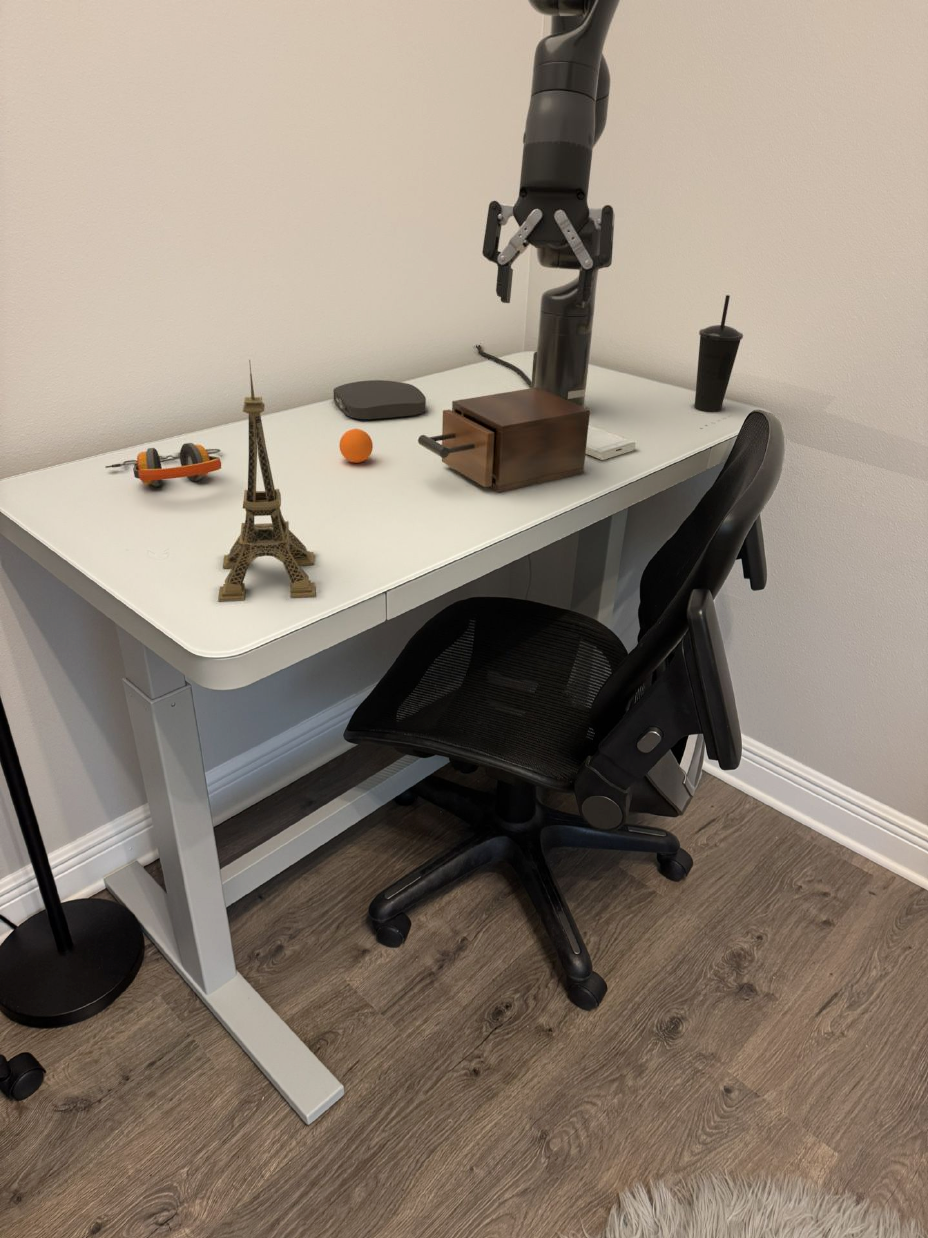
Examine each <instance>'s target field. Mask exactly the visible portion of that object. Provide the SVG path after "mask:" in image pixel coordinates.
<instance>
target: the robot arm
mask: <svg viewBox="0 0 928 1238" xmlns="http://www.w3.org/2000/svg"><path fill="white" fill-rule="evenodd" d="M527 1H528V3H529V5H530V6H531V8H532V9H533V10H534V11H536V12H537V13H538V14H541V15H544V16H550V35H547V36H545V37H543V38H542V39H540V40H539V42H538V43H537V44H536V45H537V46H536V48H535V51H534V57H533V66H532V78H531V90H530V98H529V105H528V109H527V115H526V119H525V127H524V128H525V129H524V132H523V137H522V143H523V146H522V147H523V148H522V149H523V150H522V157H521V158H522V159H521V167H520V168H521V170H520V179H519V188H518V189H519V190H518V197H517V200H516V202H515V203H514V204H505V203H500V202H499V201H498V200H492V201H490V202H489V204H488V210H487V217H486V223H485V231H484V238H483V245H482V252H481V254H482V256H483V257H484V258H486V259H487V260H488V261H489V262H491V263H494V264H495V265H496V266H497V276H496V285H495V286H496V287H495V292H496V296H497V297H498V298H500V302H501V303H503V304H510V302H511V298H512V297H511V295H512V285H513V277H514V276H513V274H514V268H512V265H513V264H514V263H515V262H516V260H517V259H518V258H519V257H520V256H521V255H522V254H523V253H525V251H527V249H528V248H529V246H532V247H534V248H535V250H536V258H537V261H538V264H539V265H540V266H541V267H544V268H547V269H559V270H571V271H572V270H573V271H576V270H577V271H579V273H578V276H576V278H574V279H573V280H571V281H570V282H568V283H565V284H563V285H560V286H556V287H553V288H550V289H547V290H546V291H544V292H543V293H542V294H541V298H540V305H539V306H540V308H539V321H538V333H537V335H538V336H537V348H536V351H534V352H533V356H532V357H533V358H532V370H531V372H532V373H531V379H530V378H529V377H528V375H526V373H525V372H523V370H521V369H520V368H519V367H518V366H516V365H514V364H512V363H510V362H508V361H506V360H504V359H501V358H499V357H497V356H495V355H492V354H490V353H487V352H485V351H484V350H482V345H481V346H480V345H479V346H478V347H477V345H476V346H475V348H476V349H477V352H478V353H479V354H480V355H482V356H483V357H486V358H487V359H490V360H492V361H495V362H497V363H499V364H501V365H503V366H505V367H508V368H510V369H512V370H514V371H515V372H517V374H519V375H520V376H521V377H522V379H523V380H524V381H525V382H526V383H527V385H528V387H529V389H530V388H536V387H537V388H540V389H542V390H544V391H547V392H549V393H551V394H554V395H556V396H558V397H561V398H563V399H565V400H568V401H570V402H572V403H575V404H577V405H579V406H582V407H584V408H586V406H585V405H586V404H585V402H586V393H587V392H586V391H587V383H588V373H589V365H590V363H589V362H590V356H591V355H590V354H591V344H592V336H593V335H592V334H593V326H594V325H593V324H594V315H595V307H596V294H597V283H598V276H599V270H601V269H604V268H609V267H611V265H612V263H613V249H614V248H613V246H614V232H615V215H616V214H615V212H614V208H613V206H612V205H610V204H606V205H604V206H603V207H600V208H598V207H597V208H596V207H595V208H592V207H591V208H589V205H588V204H589V203H588V196H589V186H590V177H591V169H592V168H591V167H592V161H593V160H592V158H593V150H594V148H595V146H596V144H597V143H598V142H599V141H600V138H601V137H602V135H603V133H604V131H605V129H606V126H607V121H608V110H609V100H610V90H611V73H610V69H609V65H608V63H607V60H606V58H605V56H604V53H603V52H604V51H603V50H604V47H605V44H606V40H607V37H608V33H609V30H610V28H611V25H612V22H613V19H614V17H615V15H616V12H617V10H618V6H619V4H620V1H621V0H527ZM511 217H513V219H514V220H515V222H516V223H517V225H518V227H519V228H518V229H517V230H516V232H515V233H514V234H513V236H512V237H511V238H510V239H509V241H508V243H507V245H505V247H504V248H503V250H501V251H499V245H500V240H501V233H502V226H503V227H504V226H506V225H507V224H508V222H509V219H510V218H511Z"/></svg>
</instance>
